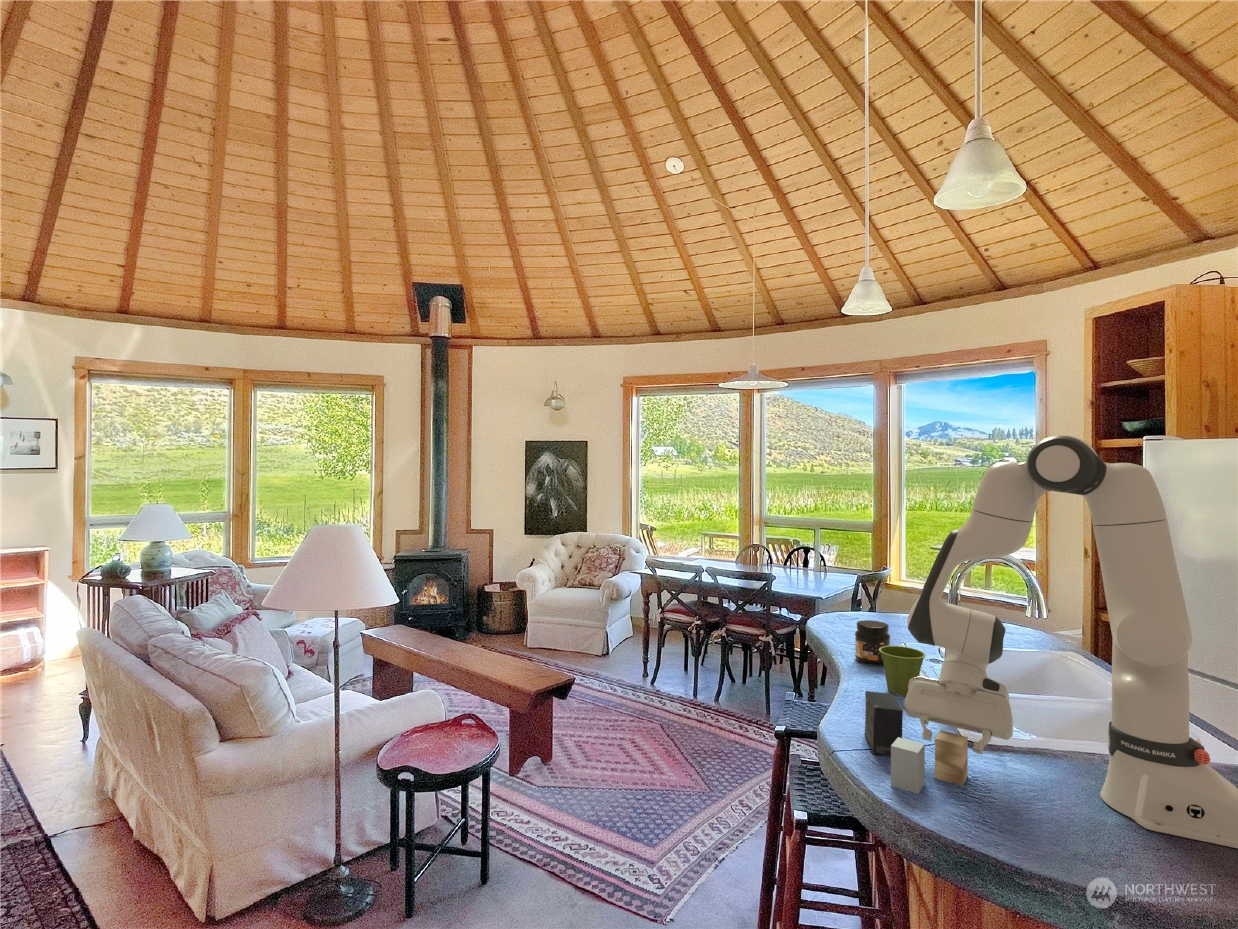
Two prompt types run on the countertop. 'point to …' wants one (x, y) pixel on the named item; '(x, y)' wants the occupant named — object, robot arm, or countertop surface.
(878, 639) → the supplement container
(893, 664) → the plant pot
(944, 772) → the maple block
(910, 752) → the grey box
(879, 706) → the small box
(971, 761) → the countertop surface
